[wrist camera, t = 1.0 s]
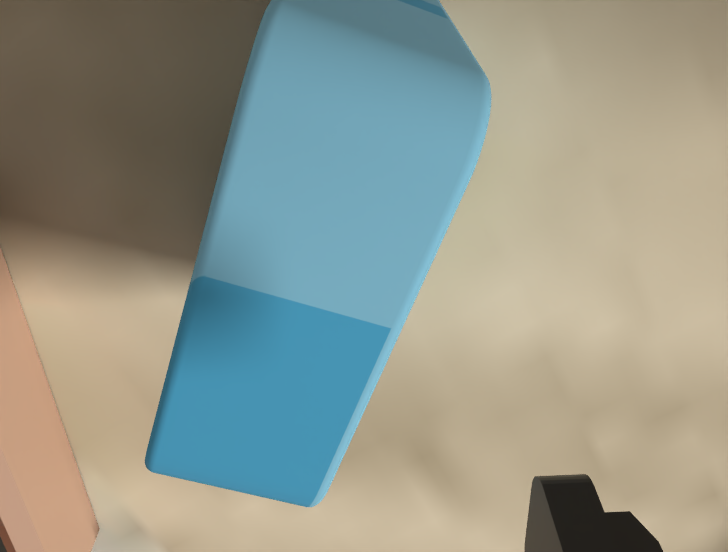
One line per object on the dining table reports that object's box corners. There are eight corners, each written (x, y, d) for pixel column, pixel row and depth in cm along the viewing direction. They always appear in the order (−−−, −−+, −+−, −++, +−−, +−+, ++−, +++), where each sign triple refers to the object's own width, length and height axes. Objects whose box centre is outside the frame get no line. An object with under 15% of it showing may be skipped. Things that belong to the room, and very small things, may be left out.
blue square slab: (303, -60, 22) (258, 12, 11) (437, -9, 22) (510, 101, 12) (215, 259, 27) (133, 498, 17) (325, 290, 28) (309, 537, 18)
